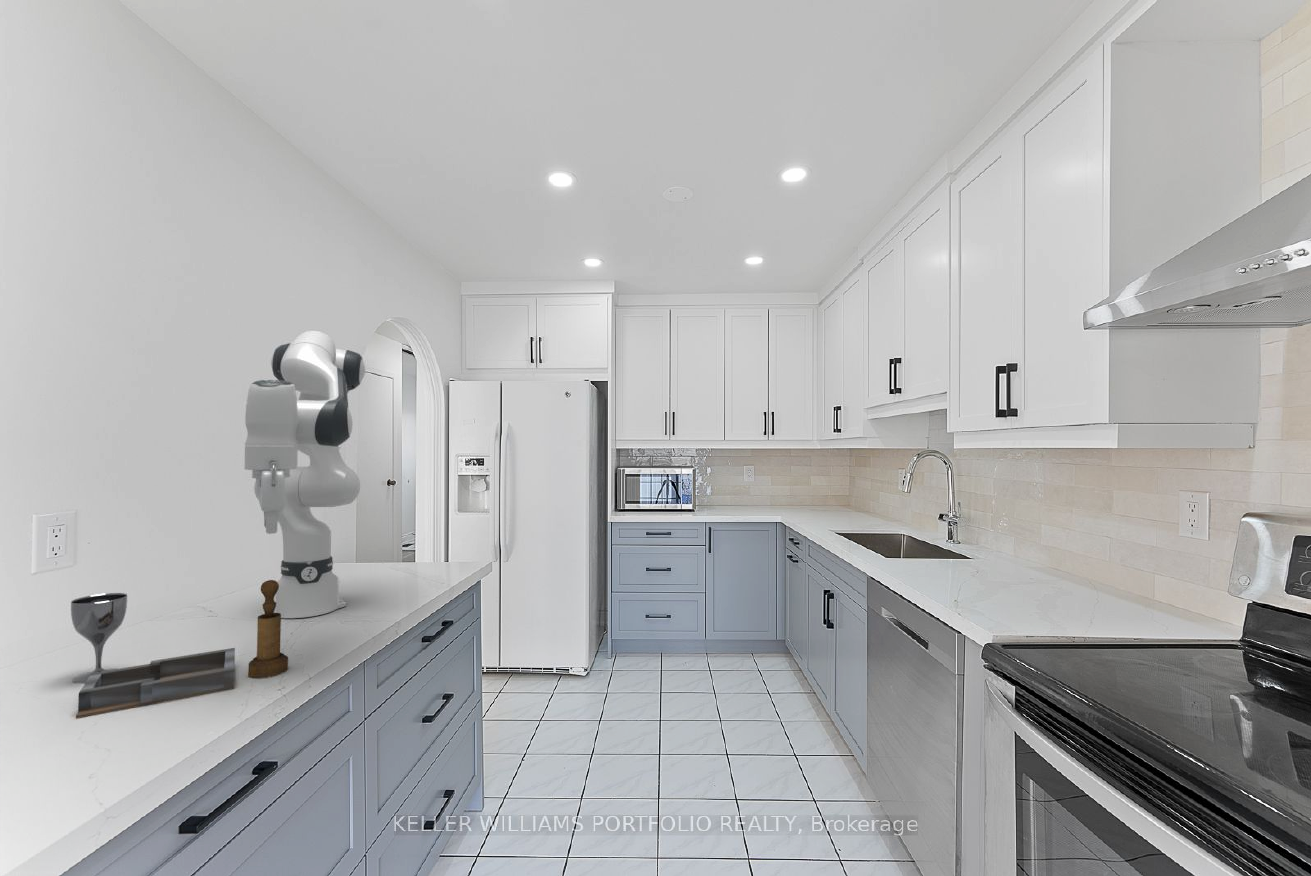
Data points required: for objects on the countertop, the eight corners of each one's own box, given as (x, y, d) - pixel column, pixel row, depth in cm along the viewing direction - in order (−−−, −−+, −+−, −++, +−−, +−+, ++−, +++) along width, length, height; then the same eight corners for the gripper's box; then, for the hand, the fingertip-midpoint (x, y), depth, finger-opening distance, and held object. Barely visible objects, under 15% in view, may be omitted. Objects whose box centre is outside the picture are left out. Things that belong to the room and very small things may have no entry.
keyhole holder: (93, 689, 107) (93, 670, 107) (234, 664, 119) (234, 647, 119) (75, 718, 96) (76, 697, 96) (233, 688, 108) (234, 669, 108)
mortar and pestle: (268, 679, 112) (269, 585, 112) (239, 676, 113) (241, 583, 114) (295, 666, 119) (297, 577, 119) (268, 664, 120) (270, 576, 120)
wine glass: (59, 686, 108) (61, 605, 108) (82, 671, 116) (84, 595, 116) (114, 680, 111) (116, 601, 111) (133, 665, 119) (134, 591, 119)
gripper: (294, 461, 110) (292, 535, 110) (287, 459, 127) (286, 523, 126) (253, 462, 106) (252, 538, 106) (251, 459, 123) (250, 525, 123)
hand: (270, 530), depth 116 cm, fingers open, 8 cm apart
